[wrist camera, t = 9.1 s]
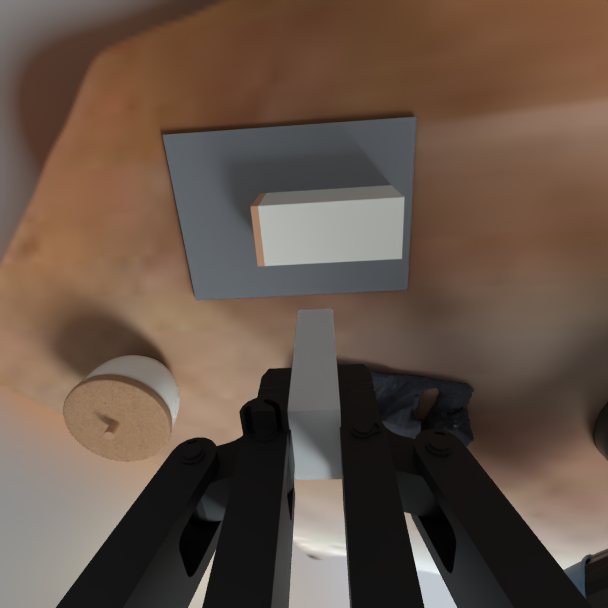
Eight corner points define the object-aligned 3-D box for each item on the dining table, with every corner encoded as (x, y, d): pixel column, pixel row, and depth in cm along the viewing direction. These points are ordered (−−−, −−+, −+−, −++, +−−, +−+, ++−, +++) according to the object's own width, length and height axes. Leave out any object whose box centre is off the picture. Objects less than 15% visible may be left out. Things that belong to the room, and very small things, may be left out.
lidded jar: (185, 339, 44) (154, 392, 35) (196, 414, 49) (171, 476, 40) (91, 337, 44) (38, 389, 36) (110, 412, 49) (67, 473, 40)
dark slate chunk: (302, 338, 44) (300, 362, 40) (482, 383, 46) (499, 410, 42) (271, 437, 51) (267, 467, 46) (431, 473, 52) (441, 504, 48)
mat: (406, 287, 40) (407, 289, 40) (197, 297, 42) (195, 300, 41) (414, 116, 34) (416, 116, 33) (164, 134, 35) (162, 134, 34)
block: (265, 245, 38) (389, 238, 38) (257, 266, 33) (401, 258, 32) (260, 193, 36) (391, 185, 36) (250, 206, 31) (404, 197, 30)
